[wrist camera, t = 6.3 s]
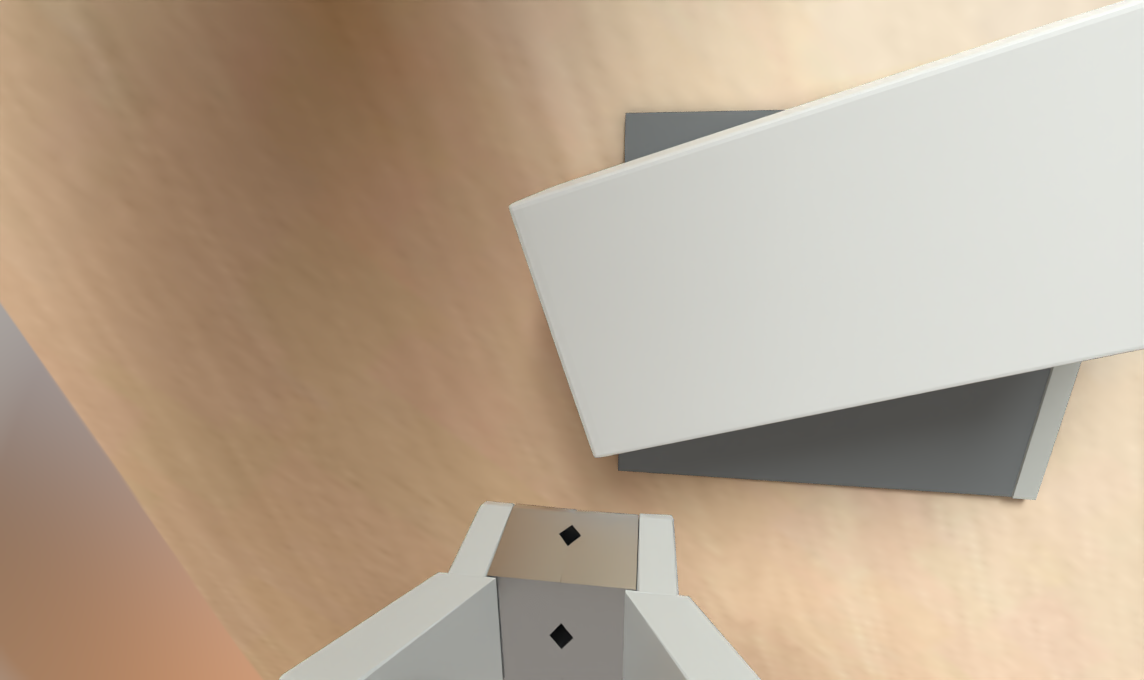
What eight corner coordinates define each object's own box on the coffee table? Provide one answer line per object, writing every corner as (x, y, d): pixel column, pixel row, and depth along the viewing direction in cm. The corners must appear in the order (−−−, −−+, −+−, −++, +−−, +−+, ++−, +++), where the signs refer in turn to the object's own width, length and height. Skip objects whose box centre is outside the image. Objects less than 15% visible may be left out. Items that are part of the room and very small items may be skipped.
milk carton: (608, 364, 21) (1186, 224, 17) (587, 462, 15) (1530, 275, 10) (552, 186, 19) (1192, -25, 15) (499, 207, 13) (1624, -161, 8)
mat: (626, 113, 18) (625, 112, 18) (1152, 103, 16) (1167, 102, 16) (618, 465, 23) (618, 471, 23) (1027, 492, 21) (1035, 499, 21)
